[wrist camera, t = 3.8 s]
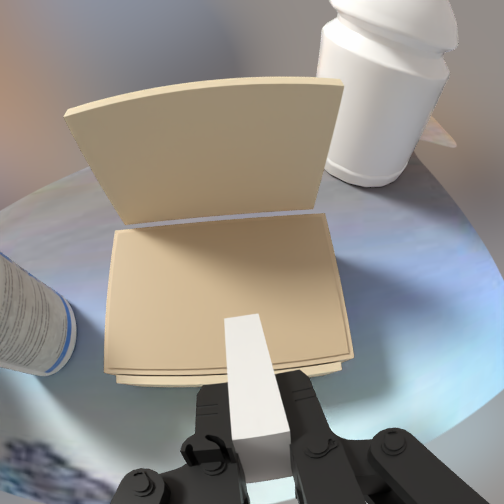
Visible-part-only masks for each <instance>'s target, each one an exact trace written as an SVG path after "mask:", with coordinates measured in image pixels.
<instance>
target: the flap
mask: <svg viewBox="0 0 504 504" xmlns="http://www.w3.org/2000/svg"><path fill="white" fill-rule="evenodd" d="M343 90H344V84H343V83H342V81H341V79H334V78H317V77H248V78H232V79H219V80H209V81H199V82H191V83H183V84H176V85H169V86H163V87H157V88H152V89H147V90H141V91H137V92H132V93H127V94H122V95H119V96H114V97H110V98H106V99H102V100H98V101H95V102H91V103H87V104H84V105H80V106H77V107H74V108H71V109H68V110H67V112H66V113H65V115H64V117H63V118H64V120H65V122H66V124H67V126H68V127H69V129H70V131H71V133H72V135H73V137H74V139H75V141H76V142H77V144H78V146H79V148H80V150H81V152H82V154H83V155H84V157H85V159H86V161H87V163H88V164H89V166H90V168H91V170H92V171H93V173H94V175H95V177H96V178H97V180H98V182H99V183H100V185H101V187H102V188H103V190H104V192H105V193H106V195H107V197H108V198H109V200H110V202H111V203H112V205H113V206H114V208H115V210H116V211H117V213H118V214H119V216H120V218H121V219H122V221H123V222H124V224H125V225H129V224H138V223H147V222H156V221H166V220H176V219H186V218H197V217H208V216H220V215H232V214H245V213H259V212H274V211H289V210H306V209H313V208H314V204H315V200H316V197H317V193H318V190H319V186H320V182H321V179H322V175H323V171H324V167H325V164H326V160H327V156H328V152H329V148H330V144H331V140H332V136H333V132H334V128H335V124H336V120H337V116H338V112H339V108H340V103H341V99H342V95H343Z"/></svg>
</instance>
